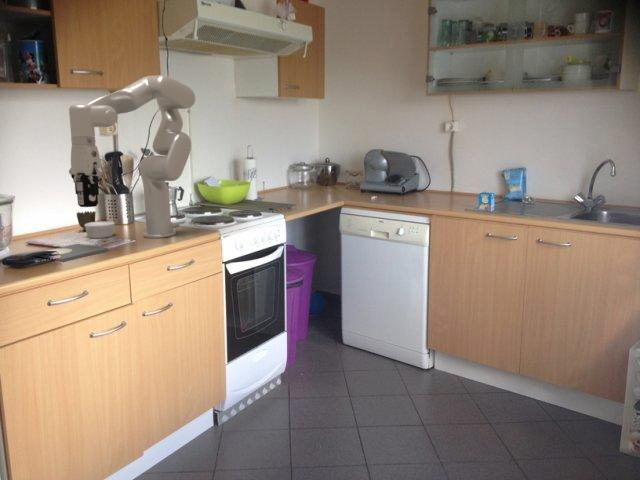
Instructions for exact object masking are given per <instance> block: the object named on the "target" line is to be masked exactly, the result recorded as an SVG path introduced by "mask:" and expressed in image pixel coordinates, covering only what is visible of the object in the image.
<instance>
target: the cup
mask: <svg viewBox="0 0 640 480" xmlns="http://www.w3.org/2000/svg"><path fill="white" fill-rule="evenodd" d="M96 215H97V214H96V211H88V210H87V211H86V210H85V211H84V212H83V211H81V212H80V211H78V212H76V218H77V222H78V226H79V227H81V228H82V231H83V232H86V228H85V226H84V225H85V224H87V223H91V222H96ZM86 233H87V232H86Z"/></svg>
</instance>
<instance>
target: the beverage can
mask: <svg viewBox="0 0 640 480" xmlns="http://www.w3.org/2000/svg"><path fill="white" fill-rule="evenodd" d="M92 174H94V173H92ZM93 179H94V177H93ZM90 184H91V182H90V179H89V176H87V175H85V174H84V172H77V175H76V187H77V194H76V197H77V198H76V199H77V205H78V206H79V207H80V208H92V207H93V208H95V207H97V206H98V204H99V195H90Z"/></svg>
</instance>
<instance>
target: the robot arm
mask: <svg viewBox="0 0 640 480" xmlns="http://www.w3.org/2000/svg"><path fill="white" fill-rule="evenodd" d="M155 99H156V102H157V105H158V108H159V110H160V113H161V121H160V123H159V126H158V129H157V132H156V134H155V137H154V139H153V140H152V150H153V152H154V153H155V154H157V155H148V156H145V157H144V158H142V159H141V161H140V162H139V166H138V167H139V173H140V177H141V182H142V186H143V187H142V188H143V196H144V197H143V198H144V210H145V211H144V212H145V222H146V223H145V226H146V231H144V232H142V236H143V237H144V238H150V239H158V238H160V239H161V238H162V239H163V238H169V237H173V236H175V235H176V230H174V229H175V228H179V227H180V223H179V222H178V221H177V222H174V223H173V222H172V221H171V207H170V206H171V205H170V202H171V201H170V191H169V187H168V184H167V182H175V181H177V180H179V178H181V176H182V174H183V172H184V170H185V168H186V164H187V162H188V159H189V158H190V157H189V156H190V154H191V151H192V141H191V138H190V136H189V135H188V134H187V133H185V132H183V131H182V130H183V125H184V122H183V118H182V115H181V114H180V111H179V110H181V109H182V110H186V109H190V108H192V107H193V106H194V105H195V102H196V95H195V93H194V90H193V89H192V88H191V87H190V86H188V85H186V84H184V83H182V82H180V81H179V80H176V79H174V77H173V78H172V77H170V76H167V75H164V74H160V75H157V74H155V75H147V76H144V77H141V78H139V79H138V80H136V81H134V82H133V83H130V84H129V85H126V86H125V87H123V88H121V89H119V90H116V91H114V92H111V93H109V94H105V95H103V96H100V97H99V98H96V99H94V100H92V101H91V102H90V101H89V103H87V104H72V105H70V106H69V109H68V112H69V113H68V114H69V115H68V116H69V126H70V127H69V128H70V138H71V139H70V140H71V148H70V168H69V170H68V174H69V175H70V176H71V178H72V180H73V183H74V188H75V189H74V191H75V194H76V195H77V187H76V175H77V172H84V174H85V175H87V176H89V179H90V182H91V184H90V195H98V196H99V195H100V188H99V184H100V181H101V179H102V177H103V175H104V171H103V170H102V164H101V159H100V152H99V149H98V146H96V145H97V144H96V134H95V133H96V132H95V128H109V127H112V126H114V125H115V124H116V123H117V122H118V119H119V118H118V115H121V114H126V113H127V114H128V113H130V112H134V111H136V110H138V109H140V108H142V107H143V106H144V105H146V104H148V103H149V102H151V101H153V100H155ZM92 173H94V174H92ZM93 177H94V179H93Z"/></svg>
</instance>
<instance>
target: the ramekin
mask: <svg viewBox="0 0 640 480" xmlns="http://www.w3.org/2000/svg"><path fill="white" fill-rule="evenodd" d="M115 225H116V223H115V222H113V221H107V220H106V221H105V220H104V221H95V222H91V223H87V224H85V225H84V226H85V228H86V235H87V237H88V238H89V237H90V239H106V238H105V237H107V238H111V237H112V236H113V235H114V231H115Z"/></svg>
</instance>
